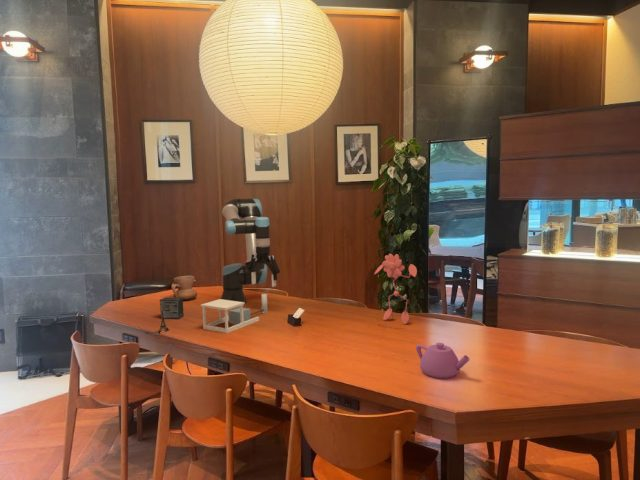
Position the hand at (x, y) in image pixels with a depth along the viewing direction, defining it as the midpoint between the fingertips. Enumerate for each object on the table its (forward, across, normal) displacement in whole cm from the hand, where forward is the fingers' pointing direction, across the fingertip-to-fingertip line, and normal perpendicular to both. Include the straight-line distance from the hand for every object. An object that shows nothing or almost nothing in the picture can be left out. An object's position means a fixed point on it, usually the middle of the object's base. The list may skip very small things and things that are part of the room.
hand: (263, 285), depth 250 cm
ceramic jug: (+17, -67, +6) cm, 70 cm away
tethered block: (+15, +1, -12) cm, 19 cm away
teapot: (+14, +108, -37) cm, 115 cm away
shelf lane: (+16, 0, -27) cm, 31 cm away
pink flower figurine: (+15, +68, +14) cm, 72 cm away
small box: (+16, -40, -28) cm, 52 cm away
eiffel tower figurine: (+16, -23, -49) cm, 57 cm away
